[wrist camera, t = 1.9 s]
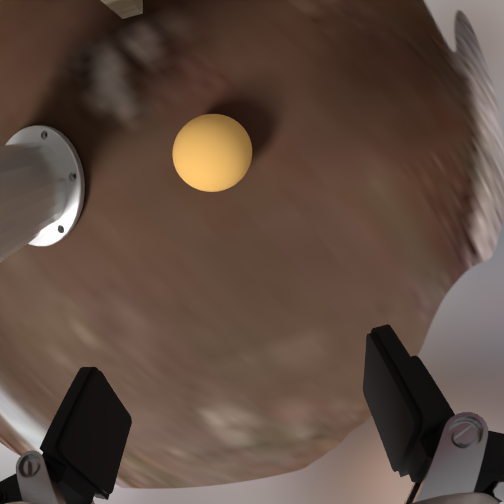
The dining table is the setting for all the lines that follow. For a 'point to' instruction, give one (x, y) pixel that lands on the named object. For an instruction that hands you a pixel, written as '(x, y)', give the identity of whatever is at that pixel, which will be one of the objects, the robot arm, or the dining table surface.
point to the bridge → (125, 7)
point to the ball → (212, 152)
